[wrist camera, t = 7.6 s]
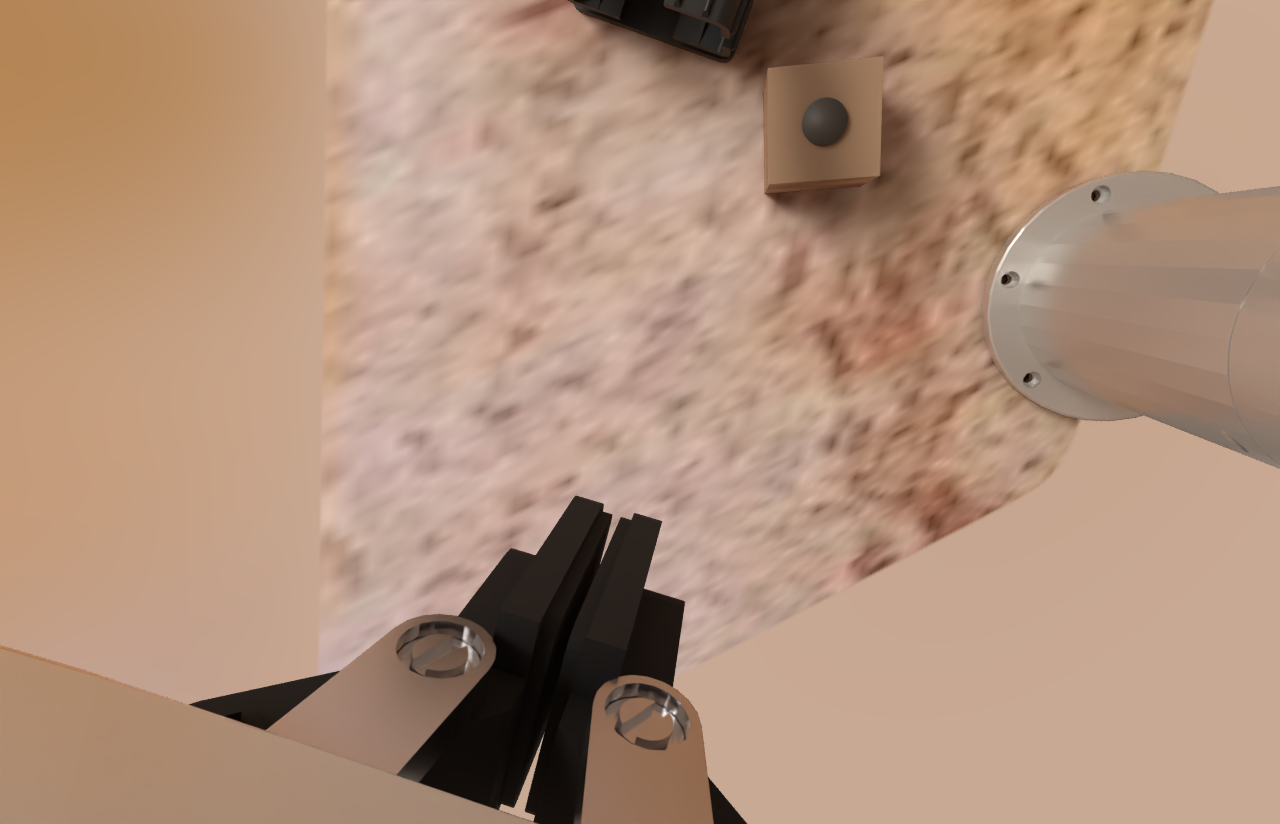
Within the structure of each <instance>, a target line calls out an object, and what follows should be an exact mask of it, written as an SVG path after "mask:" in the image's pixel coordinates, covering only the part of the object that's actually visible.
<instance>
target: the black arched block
mask: <svg viewBox="0 0 1280 824" xmlns="http://www.w3.org/2000/svg"><path fill="white" fill-rule="evenodd" d="M568 1H570V2H572V3H573V4H574V6H575V7H576V9H577V10H578V11H580V12H581V13H584V14H586V15H589V16H592V17H595V18H598V19H600V20H603V21H606V22H609V23H612V24H614V25H617V26H620V27H623V28H626V29H628V30H631V31H634V32H637V33H640V34H642V35H645V36H648V37H651V38H654V39H656V40H659V41H662V42H665V43H668V44H670V45H673V46H676V47H679V48H682V49H684V50H687V51H690V52H693V53H696V54H698V55H701V56H704V57H707V58H710V59H712V60H715V61H718V62H728V61H729V60H731V59H732V57H733V56H734V54H735V51H736V49H737V46H738V43H739V40H740V37H741V35H742V32H743V29H744V26H745V23H746V21H747V18H748V15H749V12H750V9H751V7H752V4H753V1H754V0H568Z"/></svg>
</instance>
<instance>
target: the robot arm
mask: <svg viewBox="0 0 1280 824" xmlns="http://www.w3.org/2000/svg"><path fill="white" fill-rule="evenodd" d="M1092 192H1095V194H1096V198H1095V199H1094V200H1093V201H1092V199H1091V194H1092ZM1003 275H1007V277H1008V281H1007V282H1006V283H1005V284H1002V283H1001V278H1002V277H1003ZM982 328H983V332H984V336H985V341H986V345H987V349H988V351H989V353H990V355H991V357H992V359H993V361H994V363H995V366H996V367H997V369H998V370H999V371H1000V373H1001V374H1002V375H1003V376H1004V378H1005V379H1006V380H1007V382H1008V383H1009V384H1010V385H1011V386H1013V387H1014V388H1015V389H1016V390H1017V391H1018V392H1020V393H1021V394H1022V395H1023V396H1024V397H1026V398H1028V399H1029V400H1031V401H1033V402H1035V403H1036V404H1038V405H1040V406H1042V407H1044V408H1046V409H1049V410H1051V411H1054V412H1056V413H1058V414H1061V415H1064V416H1069V417H1073V418H1078V419H1082V420H1095V421H1114V420H1122V419H1129V418H1136V417H1139V416H1142V415H1145V416H1147V417H1150V418H1152V419H1155V420H1157V421H1160V422H1162V423H1165V424H1168V425H1170V426H1173V427H1175V428H1177V429H1180V430H1183V431H1185V432H1188V433H1190V434H1193V435H1195V436H1198V437H1200V438H1203V439H1205V440H1208V441H1210V442H1213V443H1216V444H1218V445H1221V446H1223V447H1226V448H1228V449H1231V450H1233V451H1236V452H1239V453H1241V454H1244V455H1246V456H1248V457H1251V458H1254V459H1256V460H1259V461H1261V462H1264V463H1266V464H1269V465H1271V466H1274V467H1276V468H1279V469H1280V186H1277V187H1269V188H1261V189H1254V190H1246V191H1237V192H1229V193H1221V194H1219V193H1218V192H1217V191H1215V190H1213V189H1211V188H1209V187H1207V186H1206V185H1204V184H1202V183H1200V182H1198V181H1196V180H1193V179H1190V178H1186V177H1183V176H1179V175H1175V174H1173V173H1165V172H1152V171H1138V172H1128V173H1118V174H1113V175H1109V176H1104V177H1100V178H1095V179H1092V180H1090V181H1087V182H1084V183H1082V184H1079V185H1076V186H1074V187H1071V188H1069V189H1067V190H1065V191H1063V192H1062V193H1060V194H1058V195H1056V196H1055V197H1053V198H1051V199H1050V200H1048V201H1046V202H1045V203H1044V204H1042V205H1041V206H1040V207H1039V208H1037V209H1036V210H1035V211H1034V212H1033V213H1031V214H1030V215H1029V216H1028V217H1026V218H1025V219H1024V220H1023V222H1022V223H1021V224H1020V225H1019V226H1018V227H1017V228H1016V230H1015V231H1014V232H1013V233H1012V234H1011V235H1010V236H1009V238H1008V239H1007V241H1006V242H1005V244H1004V245H1003V247H1002V249H1001V250H1000V252H999V254H998V255H997V257H996V258H995V260H994V263H993V266H992V268H991V271H990V273H989V276H988V278H987V281H986V285H985V291H984V296H983V302H982ZM1027 373H1028V374H1029V378H1028V380H1026V381H1023V378H1024V377H1025V375H1026V374H1027ZM603 507H604V504H603V503H599V502H596V501H593V500H589V499H586V498H582V497H579V496H575V497H574V498H573V500H572V501H571V503H570V504H569V506H568V507H567V509H566V510H565V512H564V513H563V515H562V516H561V518H560V519H559V521H558V522H557V524H556V525H555V527H554V528H553V530H552V531H551V533H550V534H549V536H548V537H547V539H546V541H545V542H544V544H543V545H542V547H541V548H540V550H539V551H538V553H537V554H536V555H532V554H529V553H526V552H523V551H519V550H516V549H510V550H509V551H508V552H507V553H506V554H505V556H504V557H503V558H502V559H501V561H500V562H499V563H498V565H497V566H496V567H495V569H494V570H493V571H492V573H491V574H490V575H489V576H488V578H487V579H486V580H485V582H484V583H483V584H482V586H481V587H480V588H479V589H478V591H477V592H476V593H475V595H474V596H473V597H472V599H471V600H470V601H469V603H468V604H467V605H466V606H465V608H464V609H463V610H462V612H461V613H460V614H459V616H453V615H443V614H435V615H423V616H420V617H416V618H413V619H410V620H407V621H405V622H404V623H402V624H400V625H398V626H397V627H395V628H394V629H393V630H391V631H390V632H389V633H388V634H386V635H385V636H384V637H383V638H381V639H380V640H379V641H378V642H376V643H375V644H374V645H372V646H371V647H370V648H369V649H367V650H366V651H365V652H364V653H362V654H361V655H360V656H359V657H357V658H356V659H355V660H354V661H352V662H351V663H350V664H349V665H347V666H346V667H345V668H344V669H342V670H341V671H337V672H332V673H328V674H323V675H318V676H314V677H309V678H305V679H300V680H295V681H291V682H286V683H281V684H277V685H272V686H268V687H263V688H258V689H253V690H249V691H244V692H240V693H235V694H230V695H226V696H221V697H217V698H212V699H207V700H202V701H199V702H195V703H192V704H189V705H188V704H185V703H182V702H179V701H176V700H172V699H170V698H167V697H164V696H160V695H158V694H155V693H152V692H148V691H146V690H143V689H140V688H137V687H134V686H131V685H128V684H125V683H121V682H119V681H116V680H113V679H110V678H107V677H104V676H101V675H98V674H95V673H92V672H89V671H86V670H83V669H79V668H76V667H72V666H69V665H66V664H62V663H59V662H55V661H52V660H49V659H45V658H42V657H39V656H35V655H32V654H28V653H25V652H22V651H18V650H15V649H12V648H8V647H5V646H1V645H0V824H747V823H746V822H745V821H744V819H743V818H742V817H741V816H740V815H739V814H738V812H737V811H736V810H735V809H734V808H733V806H732V805H731V804H730V803H729V801H728V800H727V799H726V798H725V797H724V795H723V794H722V793H721V792H720V791H719V789H718V788H717V787H716V786H715V785H714V783H713V782H712V781H711V780H710V779H709V777H708V774H707V766H706V758H705V749H704V741H703V733H702V726H701V722H700V719H699V716H698V713H697V711H696V710H695V708H694V707H693V705H692V704H691V702H690V701H689V700H688V699H687V698H685V696H684V695H682V694H681V693H680V692H679V691H678V690H677V689H675V688H673V682H674V675H675V668H676V661H677V654H678V647H679V640H680V634H681V627H682V620H683V613H684V606H685V601H682V600H679V599H676V598H673V597H669V596H666V595H663V594H660V593H656V592H653V591H650V590H647V589H644V586H645V582H646V578H647V575H648V571H649V567H650V564H651V560H652V556H653V553H654V549H655V546H656V542H657V538H658V535H659V531H660V527H661V524H662V521H660V520H656V519H653V518H650V517H646V516H643V515H640V514H636V513H634V515H633V517H632V520H629V519H626V518H622V517H621V518H620V520H619V523H618V525H617V527H616V530H615V532H614V534H613V536H612V539H611V541H610V543H609V546H608V548H607V550H606V553H605V555H604V557H603V559H602V562H601V558H602V555H603V551H604V547H605V543H606V539H607V535H608V532H609V528H610V524H611V520H612V514H609V513H606V512H603ZM600 562H601V564H600ZM544 732H545V733H544ZM543 735H544V737H543ZM542 737H543V741H542V745H541V749H540V753H539V757H538V761H537V765H536V768H535V772H534V777H533V780H532V784H531V789H530V792H529V796H528V800H527V804H526V808H525V812H527V813H530V814H533V815H535V818H534V821H533V822H532V821H529V820H527V819H524V818H520V817H518V816H515V815H512V814H509V813H506V812H503V811H500V810H499V808H500V805H501V804H503V805H506V806H509V807H512V808H514V806H515V804H516V802H517V800H518V797H519V795H520V792H521V790H522V787H523V785H524V782H525V780H526V777H527V775H528V772H529V769H530V767H531V764H532V762H533V759H534V757H535V755H536V752H537V750H538V747H539V745H540V742H541V740H542Z"/></svg>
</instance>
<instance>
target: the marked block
mask: <svg viewBox="0 0 1280 824" xmlns="http://www.w3.org/2000/svg"><path fill="white" fill-rule="evenodd" d="M882 89H883V56H878V57H868V58H859V59H849V60H840V61H830V62H820V63H811V64H801V65H792V66H782V67H772V68H768V71H767V76H766V82H765V87H764V93H763V110H764V192H765V194H766V193H779V192H793V191H806V190H820V189H833V188H847V187H860V186H862V185H864V184H865V183H867V182H869V181H871V180H873V179H875V178H877V177H879V176H880V159H881V124H882Z"/></svg>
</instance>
